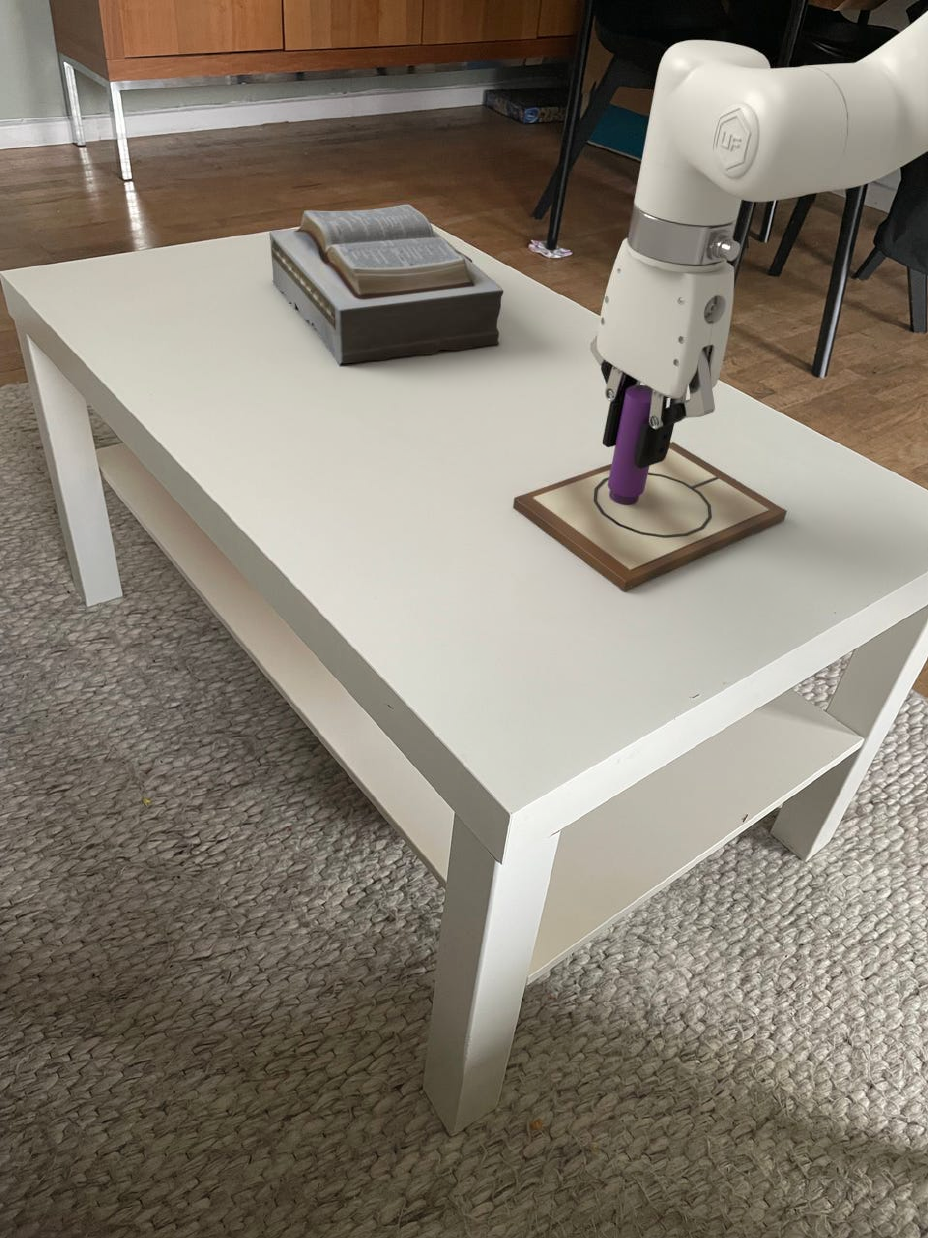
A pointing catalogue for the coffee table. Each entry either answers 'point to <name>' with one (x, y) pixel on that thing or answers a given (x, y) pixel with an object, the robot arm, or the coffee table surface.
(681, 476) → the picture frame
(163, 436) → the coffee table surface
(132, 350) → the coffee table surface
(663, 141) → the robot arm
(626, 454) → the marker
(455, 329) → the bible
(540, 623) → the coffee table surface
